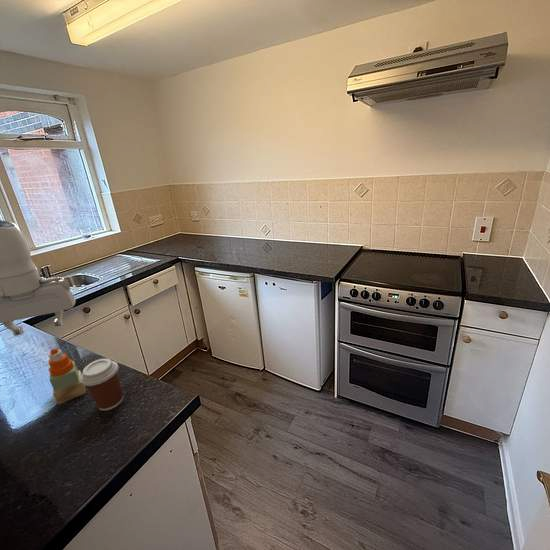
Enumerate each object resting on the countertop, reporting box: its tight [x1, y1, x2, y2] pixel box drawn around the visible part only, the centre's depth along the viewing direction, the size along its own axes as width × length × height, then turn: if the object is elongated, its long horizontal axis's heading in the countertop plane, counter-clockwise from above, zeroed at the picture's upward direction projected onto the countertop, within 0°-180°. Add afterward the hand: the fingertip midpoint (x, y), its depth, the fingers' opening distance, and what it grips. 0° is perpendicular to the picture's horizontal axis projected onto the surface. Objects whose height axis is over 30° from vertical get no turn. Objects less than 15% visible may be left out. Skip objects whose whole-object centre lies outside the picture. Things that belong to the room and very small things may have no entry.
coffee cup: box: [80, 358, 125, 412], centre depth 81 cm, size 9×9×12 cm
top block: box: [49, 360, 79, 392], centre depth 86 cm, size 6×6×4 cm
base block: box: [52, 369, 87, 406], centre depth 88 cm, size 7×7×4 cm
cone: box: [47, 348, 74, 377], centre depth 84 cm, size 6×6×7 cm
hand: (39, 329), depth 82 cm, fingers open, 8 cm apart
